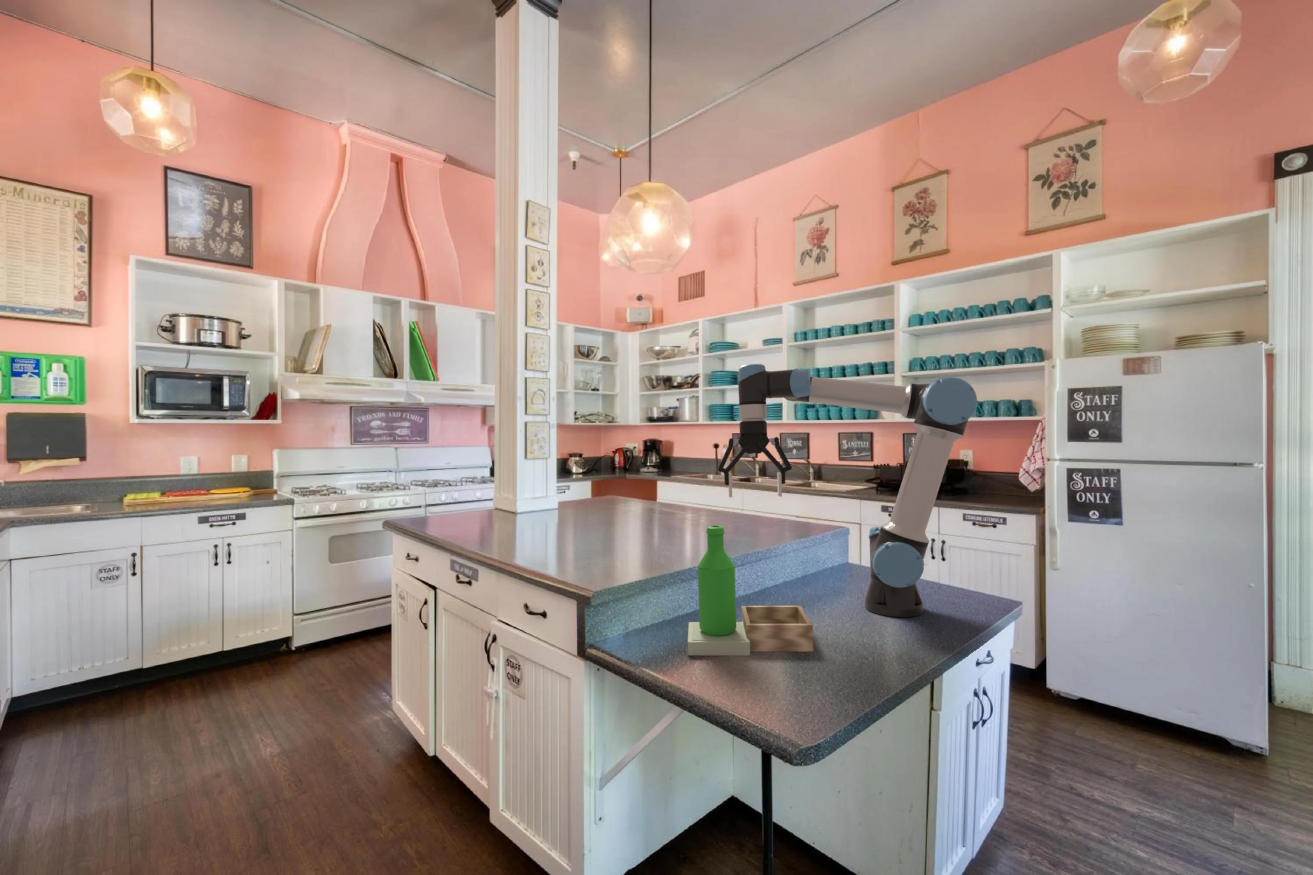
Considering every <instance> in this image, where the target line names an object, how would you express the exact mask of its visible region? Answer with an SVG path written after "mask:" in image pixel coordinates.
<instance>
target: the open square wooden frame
mask: <svg viewBox="0 0 1313 875" xmlns="http://www.w3.org/2000/svg"><path fill="white" fill-rule="evenodd" d="M740 607H741V622H743V625H744V629H745V633H746V638H749V641H750V652H814V630H813V629H814V626H813V624H812V622H811V620H810V619H809V617H808V616H807V614H806V612H805V611H804V609H803V607H802V606H801V605H740Z"/></svg>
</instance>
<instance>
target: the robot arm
mask: <svg viewBox="0 0 1313 875" xmlns="http://www.w3.org/2000/svg"><path fill="white" fill-rule="evenodd" d="M737 384H738V385H737V386H738V411H739V412H738V413H739V414H738V416H739V417H738V418H739V420H741V421H740V422H739V437H738V439H737V438H732V437H730V438H729V439H728V446H727V448H726V450H725V452H724V454H723V456H722V458H721V461H720V463H719V465H718V467H717V470H718V472H720V473H722V474H723V475H724V485H725V486H728V497H729V498H733V480H732V479H733V478H732V473H730V472H731V470H732V469H733V468H734V466H736V464H738V462H739V461H740V460H741V458H742V457H743V456H744V454H745V453H746V454H748V455H752V454H756V455H757V454H758V455H759V454H762V453H763V454H764V455H765V456H766V458H767V459H769V461H770V462H771V463H772V464H773V465H774V466H775V467H776V469H778V470H779V472H777V473H776V477H777V478H776V479H777V481H776V482H777V483H776V485H777V496H778V497H783V489H782V485H785V484H786V472H789V471H791V470H792V469H793V467H792V465H791V463H790V461H789V459H788V457H787V455H786V454H785V452H784V450H783V448H782V446H781V445H780V444H781V443H780V438H779V437H778V436H775V437H771V438H769V437H768V425H767V424H768V422H767V421H766V419H767V414H768V413H767V399H785V400H786V401H791V402H803V403H813V404H820V405H821V404H823V405H829V406H836V407H837V406H838V407H845V408H854V409H861V410H870V411H878V412H885V413H886V412H887V413H893V414H901V415H902V417H903V418H905V419H913V420H914V422H913V427H914V428H915V431H916V436H915V440H914V442H913V445H912V449H911V452H910V454H909V455H910V456H909V458H908V462H907V465H906V468H905V471H904V474H903V477H902V481H901V484H900V487H899V490H898V494H897V496H896V500H895V503H894V506H893V509H892V513H891V516H890V519H889V521H888V522H886V523H884V524H881V526H872V527H871V528H870V529H869V535H868V539H869V563H870V568H869V569H870V582H869V584H868V587H867V590H866V594H865V597H864V608H865V609H866V610H867V611H869V612H871V613H873V614H878V615H881V616H886V617H896V618H898V617H899V618H911V617H918V616H920V615H922V614H924V602H923V599H922V597H921V595H920V591H919V587H918V586H917V582H918V581H919V580H920V579H921V577H922V575H923V573H924V570H925V568H924V567H925V562H924V558H925V555H926V552H927V549H928V546H929V542H930V539H929V538H928V536H927V534H926V530H927V527H928V524H929V520H930V517H931V514H932V511H933V509H934V506H935V502H936V499H937V496H938V494H939V493H938V492H939V490H940V487H941V484H942V480H943V476H944V475H945V472H946V468H947V465H948V461H949V458H950V455H951V453H952V449H953V446H954V443H955V442H956V441H957V440H959V439H962V438H964V437H963V436H964V434H965V431H966V428H967V424H968V422H969V419H970V418H971V417H972V416H973V415H974V413H975V412H976V410H977V405H978V397H977V393H976V390H975V389H974V388H973V386H972V385H971V384H970V383H969V382H968V381H966V380H964V379H962V378H960V377H955V376H954V377H953V376H945V377H944V376H943V377H939V378H937V379H935V380H933V381H931V383H911V382H910V383H908V384H907V385H903V386H902V385H895V384H893V385H892V384H884V383H874V382H864V381H857V380H845V379H837V378H827V377H826V378H825V377H818V376H811V372H810V371H809V370H808V369H807V368H804V369H803V368H802V369H801V368H800V369H799V368H795V369H785V370H783V369H782V370H773V371H772V370H771V371H770V370H767V369H766V366H765V364H761V363H754V364H753V363H752V364H744V365H741V366H740V367H739V368H738V381H737ZM769 443H770V444H771V445H772V446H773V447H774V448H775V450H776V452H777V453H778V455H779V458H780V459H781V461H782V463H783V465H784V466H783V465H782V464H781V463H780V462H779V461H778V460H777V459H776V457H775V456H774V455H773V454H772V453H771V452H770V451H769V450H768V448H767V446H768V445H769ZM737 444H738V445H739V446H740V447H741V449H740V450H739V451H738V453H737V454H736V455H735V456H734V457H733V459H732V460H731V461H730V463H728V465H727V466H726V467H725V465H726V463H727V461H728V459H729V457H730V454H731V452H732V450H733V447H736V445H737Z"/></svg>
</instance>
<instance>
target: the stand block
mask: <svg viewBox="0 0 1313 875" xmlns="http://www.w3.org/2000/svg"><path fill="white" fill-rule="evenodd" d="M687 630H688V634H687V656H744V657H745V656H751V651H750V641H749V638H746V633H745V629H744V625H743V622H742V621H736V629H735V630H734V631H733V632H732V633H731V634H729V635H725V636H712V635H708V634H706V633H704V632H703V631H702V630H701V629H700V627H699V621H689V622H688V629H687Z"/></svg>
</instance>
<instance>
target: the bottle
mask: <svg viewBox="0 0 1313 875" xmlns="http://www.w3.org/2000/svg"><path fill="white" fill-rule="evenodd" d="M705 534H706V535H707V536H706V538H707V550H706V552H705V553H704V555H703V557H702V558H701V560H700V561H699V563H698V564H697V583H698V584H697V586H698V587H697V589H698V620H699V621H698V622H699V627H700V629H701V630H702V631H703V632H704V633H706V634H708V635H712V636H725V635H729V634H731V633H732V632H733V631H734V630H735V629H736V622H737V602H736V601H737V600H736V597H737V596H736V594H737V592H736V569H735V568H736V566H735V564H734V563H733V561H732V559H731V558H730V556H729V555H728V554H727V552H726V550H725V547H724V544H725V542H724V534H725V529H724V526H722V525H709V526H707V527H706V532H705Z"/></svg>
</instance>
